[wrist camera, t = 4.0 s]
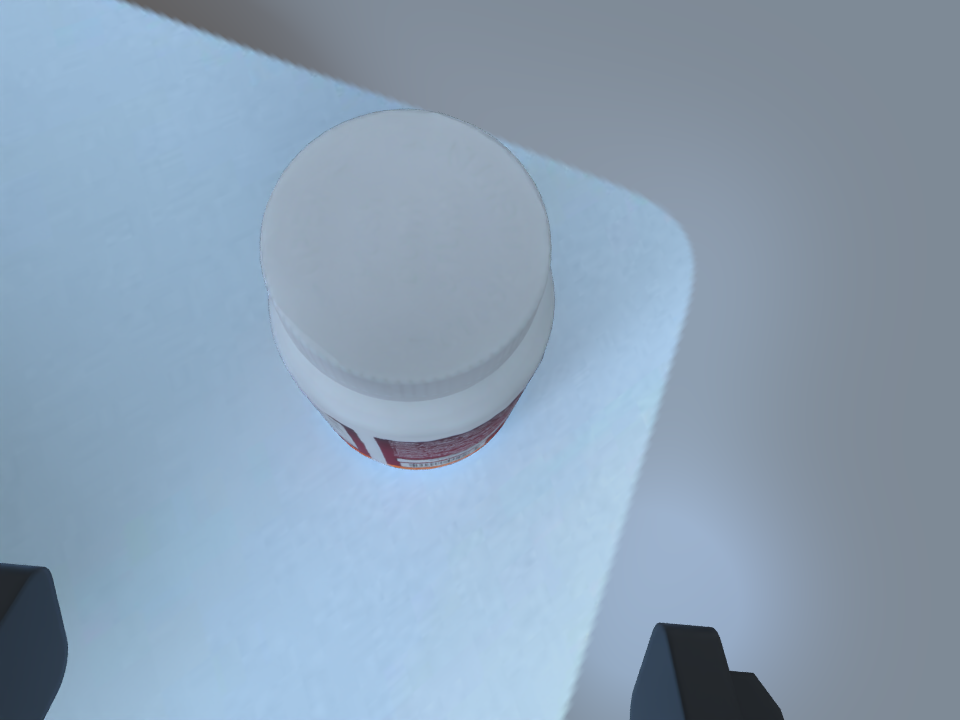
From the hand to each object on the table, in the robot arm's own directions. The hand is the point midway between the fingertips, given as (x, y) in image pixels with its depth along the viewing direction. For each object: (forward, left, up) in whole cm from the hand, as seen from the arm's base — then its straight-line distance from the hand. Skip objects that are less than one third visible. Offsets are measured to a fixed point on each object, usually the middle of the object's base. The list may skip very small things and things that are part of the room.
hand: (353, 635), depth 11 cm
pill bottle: (+3, -5, -13) cm, 15 cm away
